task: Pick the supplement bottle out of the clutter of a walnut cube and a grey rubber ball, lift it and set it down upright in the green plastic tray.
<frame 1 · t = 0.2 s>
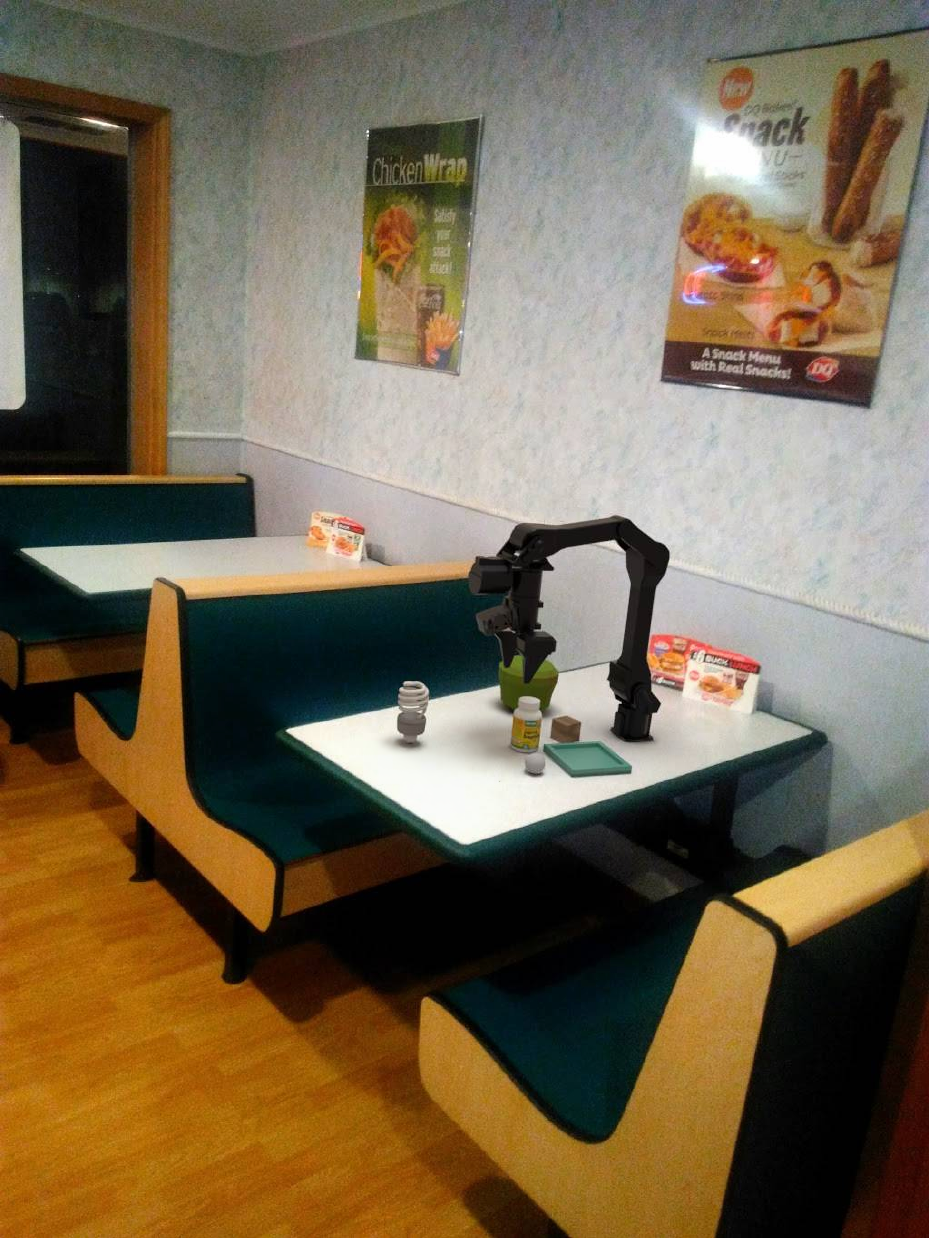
hand: (516, 675, 180), 14 cm above the table, fingers open, 9 cm apart
supplement bottle: (523, 748, 182), on the table
light bulb: (409, 744, 179), on the table
tray: (586, 761, 178), on the table
grey ball: (534, 772, 171), on the table
walnut cube: (564, 739, 189), on the table
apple: (524, 709, 204), on the table
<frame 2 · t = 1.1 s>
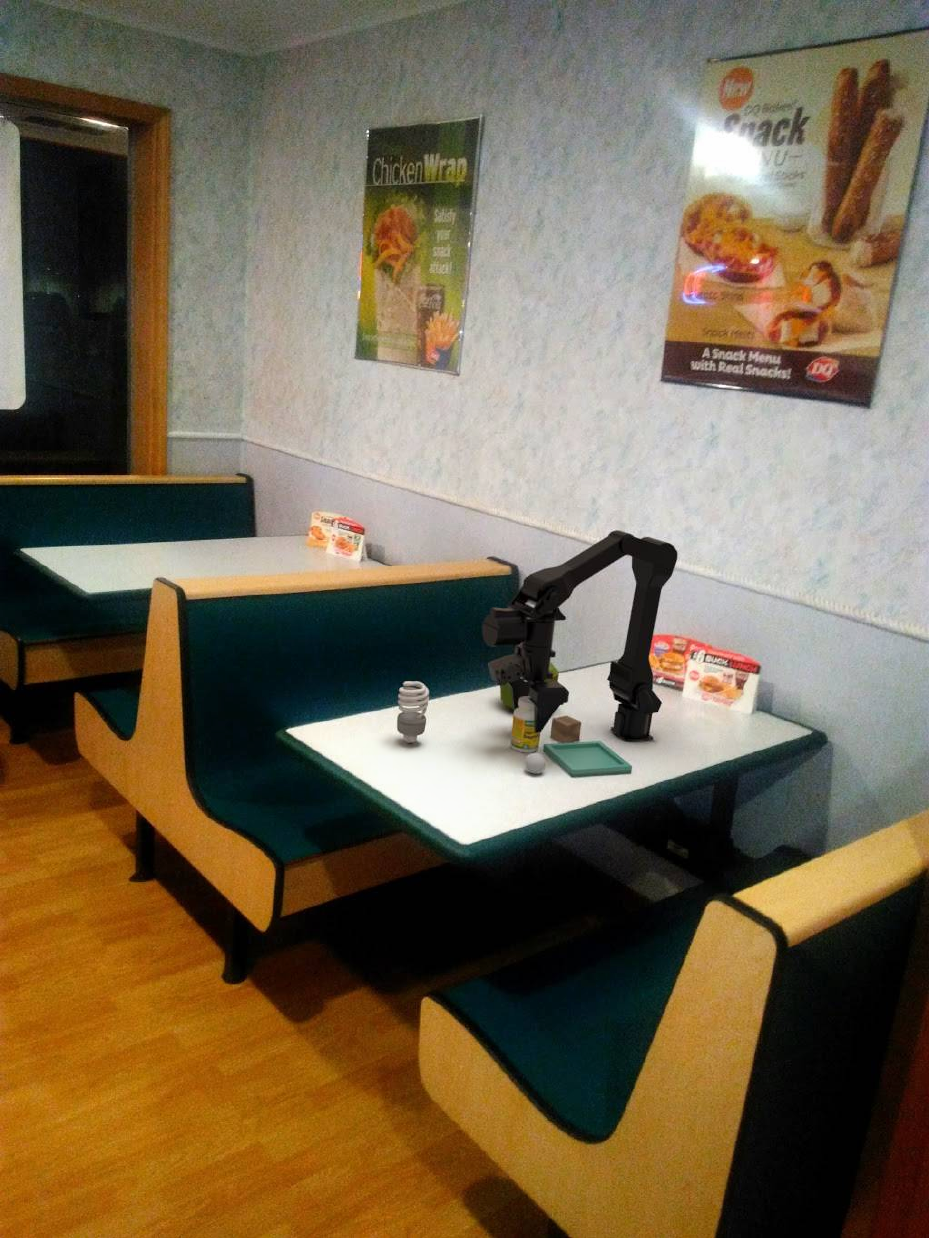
hand: (527, 723, 181), 5 cm above the table, fingers open, 9 cm apart
nothing on the table moved.
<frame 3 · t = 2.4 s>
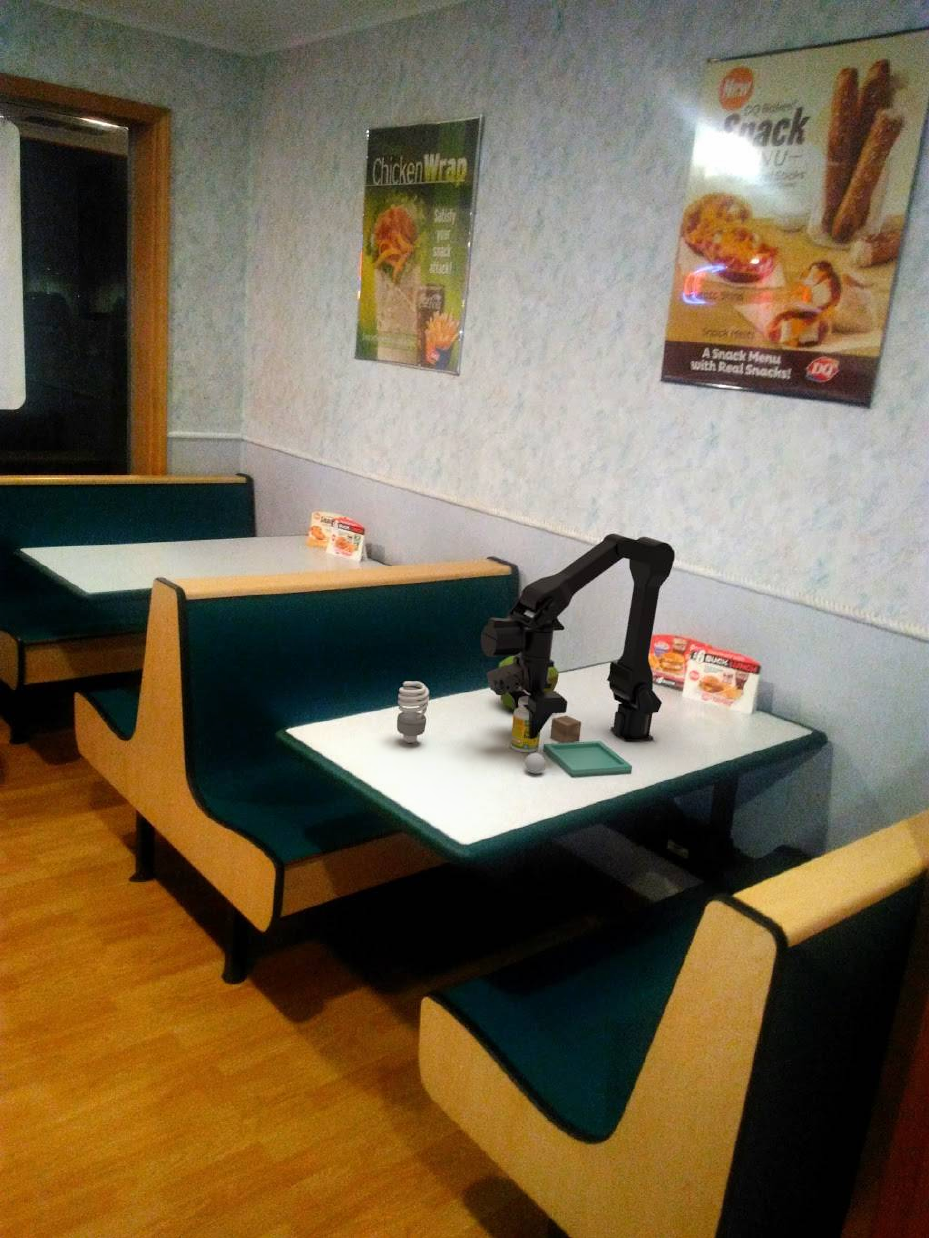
hand: (525, 732, 182), 3 cm above the table, fingers closed on supplement bottle, 5 cm apart
supplement bottle: (524, 748, 182), on the table, touching gripper
everything else where it was.
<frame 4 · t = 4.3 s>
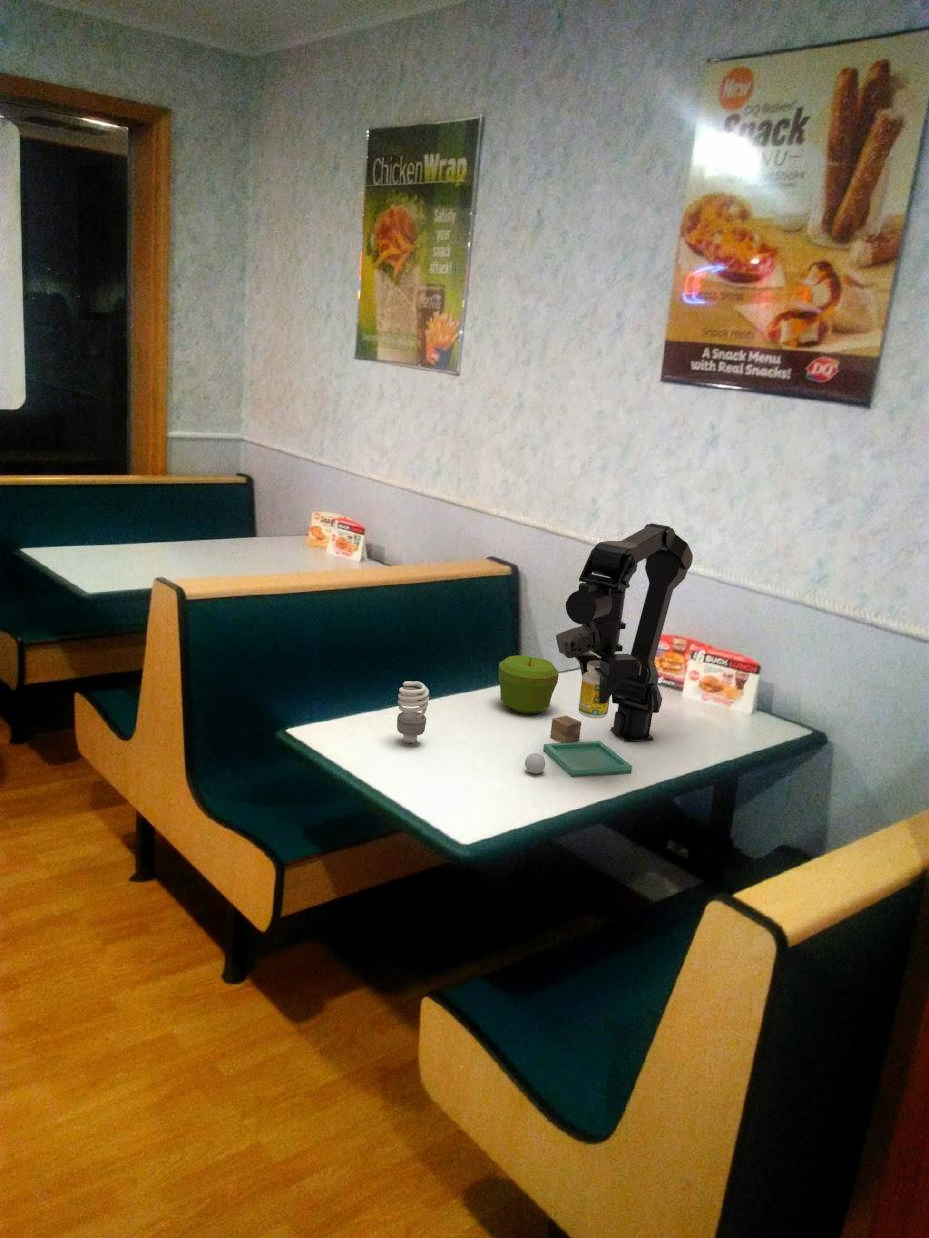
hand: (594, 697, 175), 12 cm above the table, fingers closed on supplement bottle, 5 cm apart
supplement bottle: (592, 714, 176), point 9 cm above the table, touching gripper
everything else where it was.
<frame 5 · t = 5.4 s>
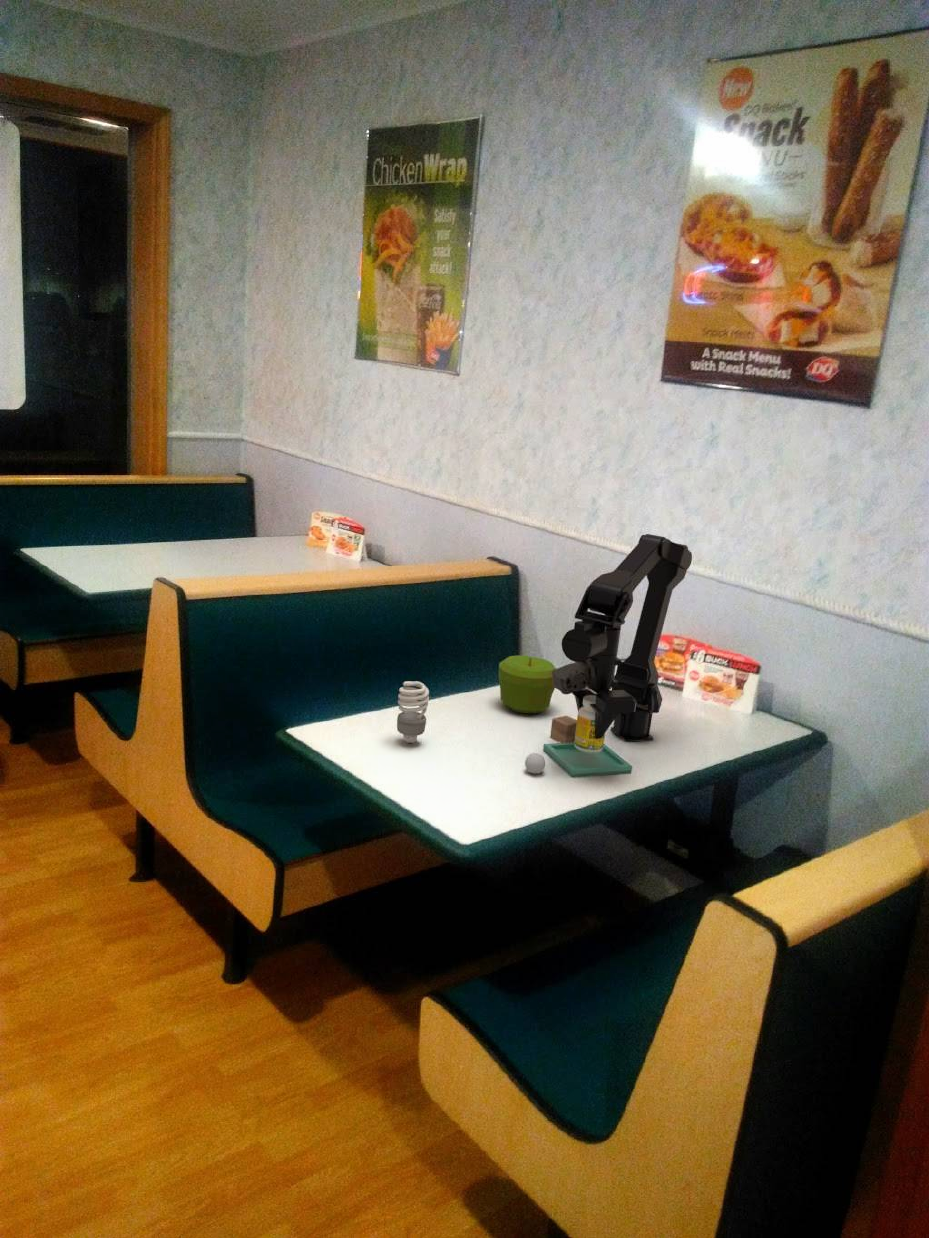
hand: (590, 732, 177), 6 cm above the table, fingers closed on supplement bottle, 5 cm apart
supplement bottle: (588, 749, 178), point 2 cm above the table, touching gripper
everything else where it was.
when the fingers open (5 cm above the table, at t = 6.3 s): supplement bottle drops 2 cm, resting on tray.
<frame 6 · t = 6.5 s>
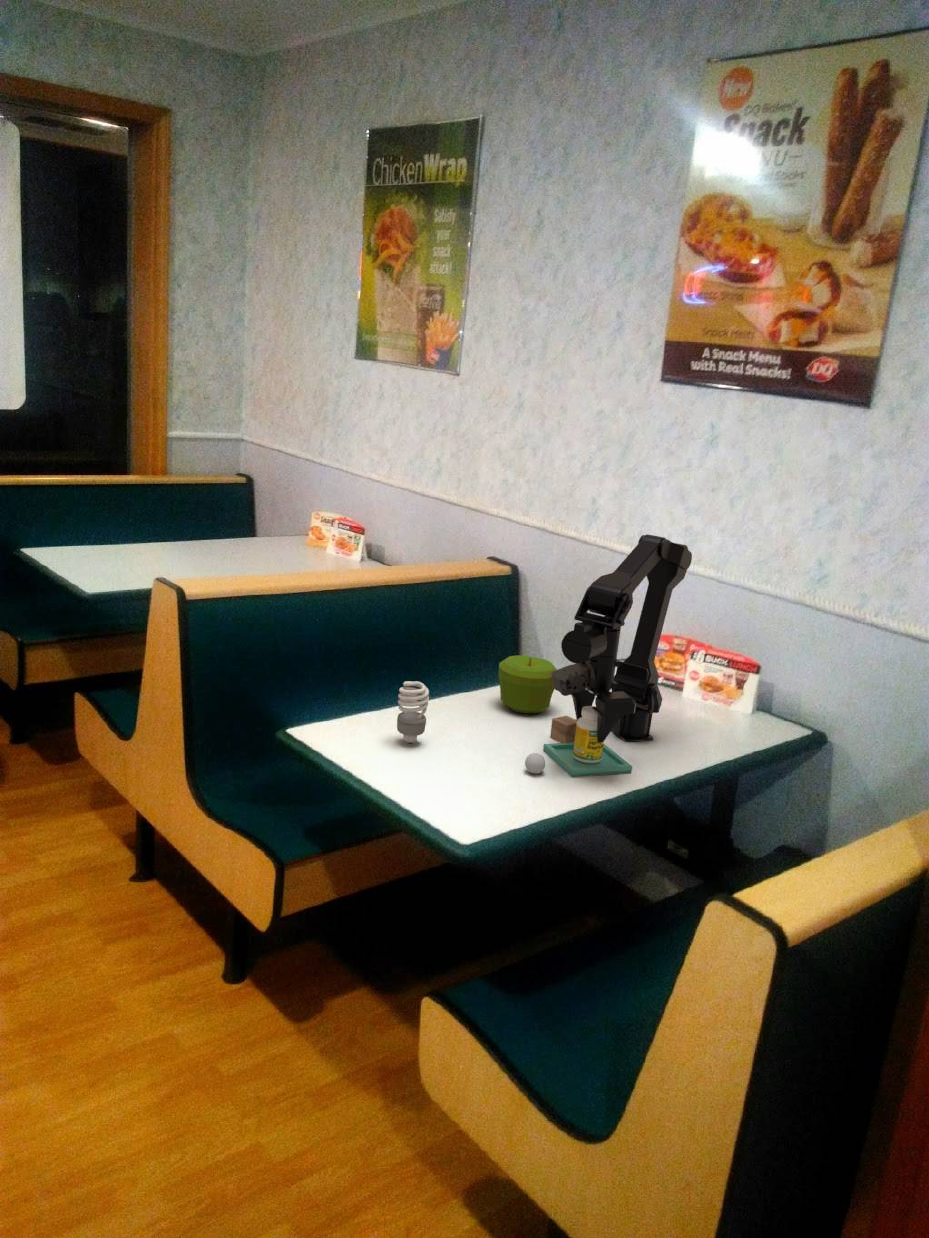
hand: (590, 733, 177), 5 cm above the table, fingers open, 7 cm apart
supplement bottle: (586, 759, 178), resting on tray
everything else where it was.
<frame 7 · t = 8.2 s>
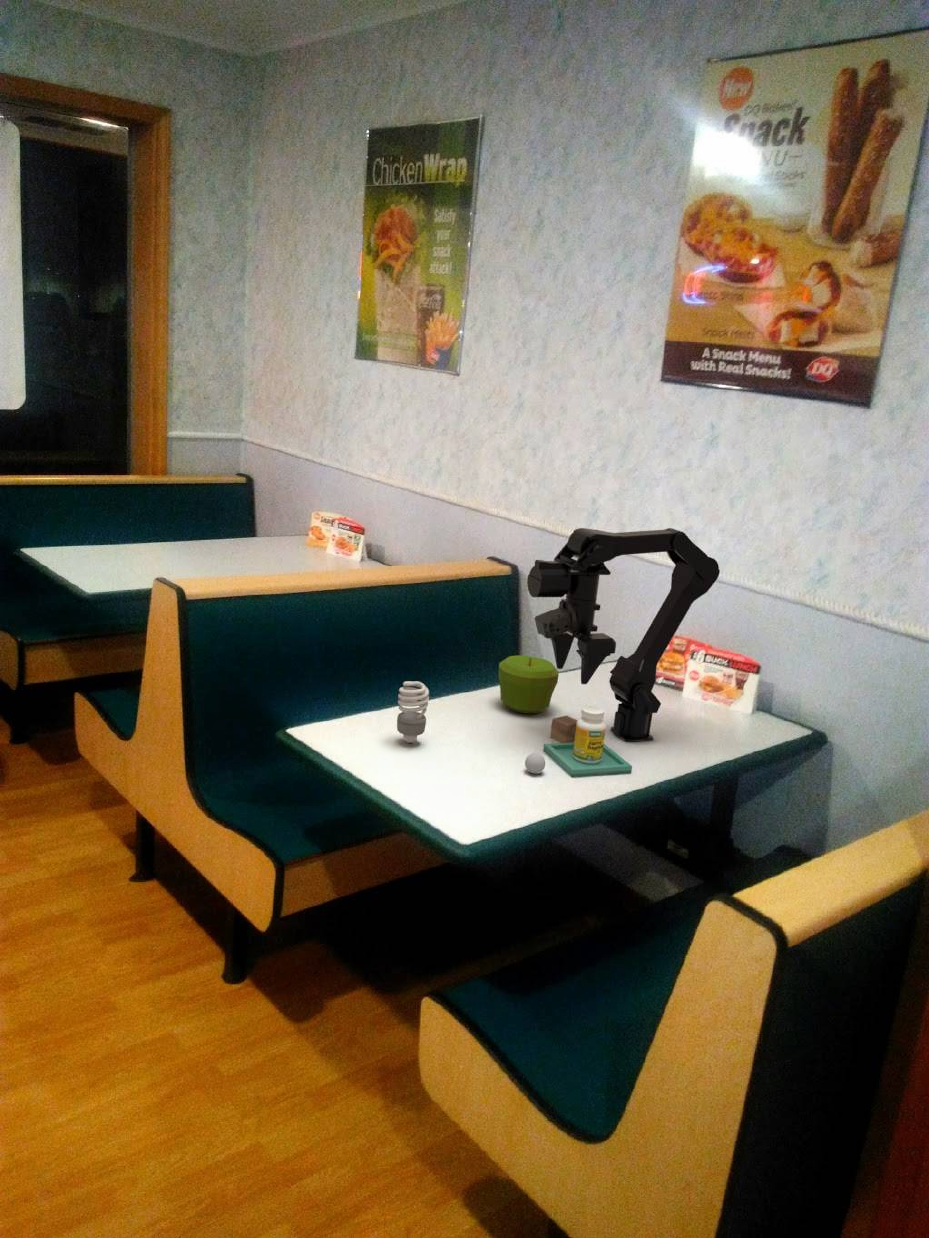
hand: (571, 676, 185), 13 cm above the table, fingers open, 9 cm apart
nothing on the table moved.
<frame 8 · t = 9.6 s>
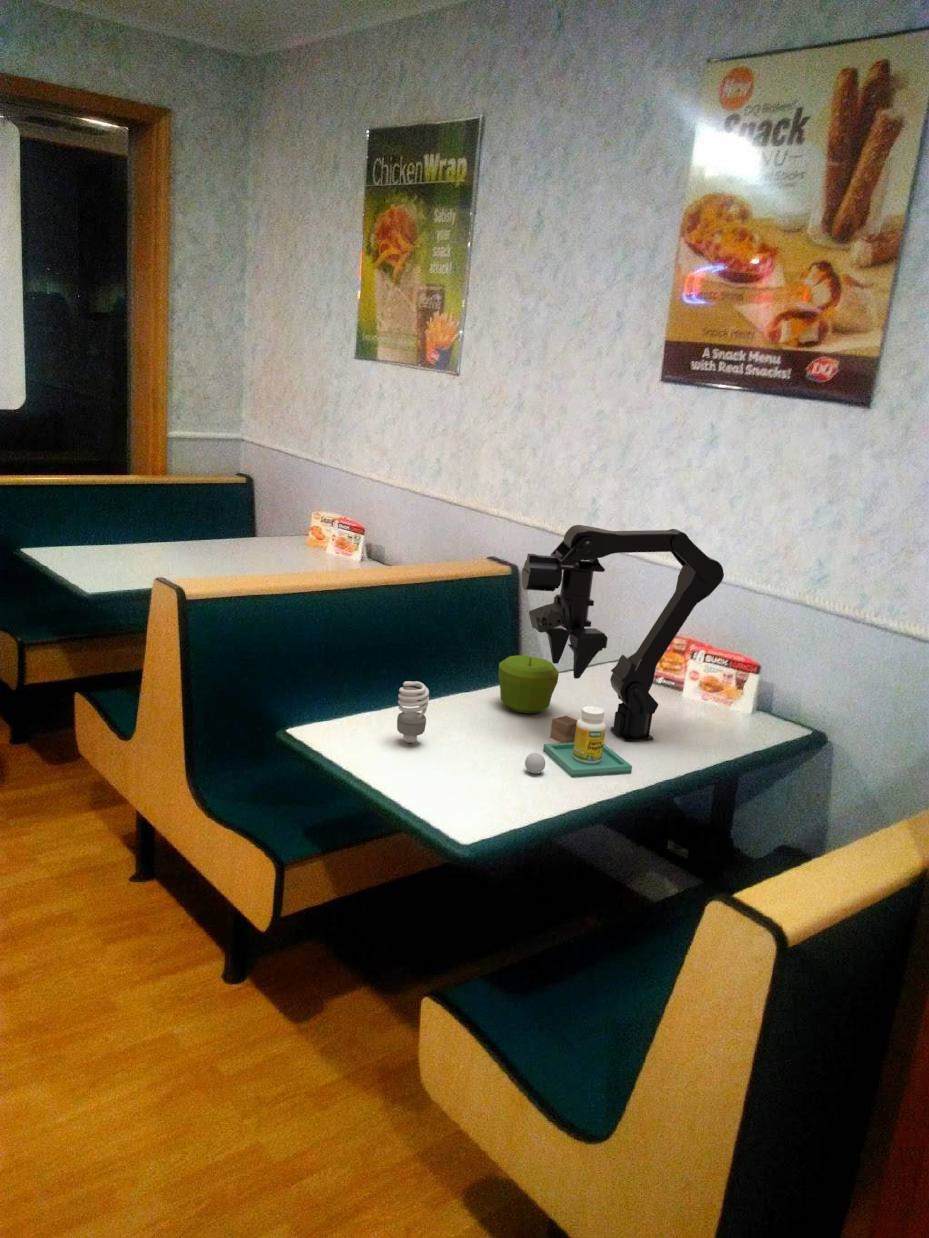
hand: (565, 670, 188), 13 cm above the table, fingers open, 9 cm apart
nothing on the table moved.
at the end: supplement bottle inside the target area on the tray (0.0 cm from its centre), point 0.4 cm above the tray's base; supplement bottle tilted 0°; the gripper is holding nothing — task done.
